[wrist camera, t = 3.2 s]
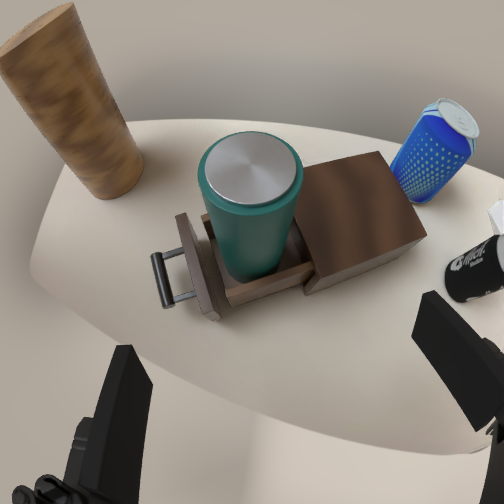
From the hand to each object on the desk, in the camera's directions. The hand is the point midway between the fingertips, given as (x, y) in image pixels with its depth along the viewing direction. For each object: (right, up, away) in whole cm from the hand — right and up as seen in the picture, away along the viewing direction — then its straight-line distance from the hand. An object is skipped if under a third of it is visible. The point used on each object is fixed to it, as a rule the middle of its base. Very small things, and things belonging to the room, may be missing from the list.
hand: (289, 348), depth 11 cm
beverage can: (+29, 0, +22) cm, 36 cm away
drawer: (-4, +2, +22) cm, 22 cm away
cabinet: (+9, +6, +24) cm, 27 cm away
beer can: (+23, +15, +27) cm, 39 cm away
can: (-2, +3, +21) cm, 21 cm away
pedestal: (-23, +17, +28) cm, 40 cm away
